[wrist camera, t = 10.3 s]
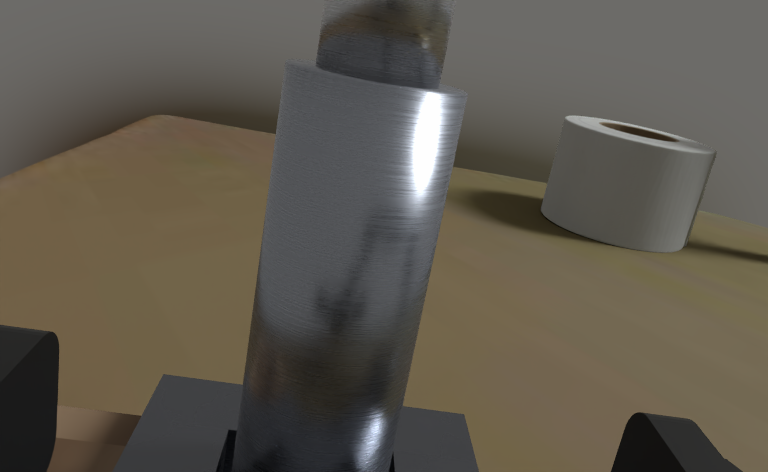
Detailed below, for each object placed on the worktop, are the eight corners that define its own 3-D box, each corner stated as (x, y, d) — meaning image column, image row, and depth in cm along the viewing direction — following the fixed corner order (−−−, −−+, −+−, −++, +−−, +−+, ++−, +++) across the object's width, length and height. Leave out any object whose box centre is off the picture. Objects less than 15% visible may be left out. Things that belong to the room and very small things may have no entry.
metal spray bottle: (322, 486, 24) (423, -82, 19) (398, 577, 21) (547, -82, 15) (198, 522, 21) (275, -127, 16) (261, 633, 18) (385, -138, 13)
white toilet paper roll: (702, 241, 78) (734, 146, 75) (654, 263, 67) (689, 152, 63) (576, 200, 87) (599, 114, 84) (514, 213, 75) (538, 114, 72)
